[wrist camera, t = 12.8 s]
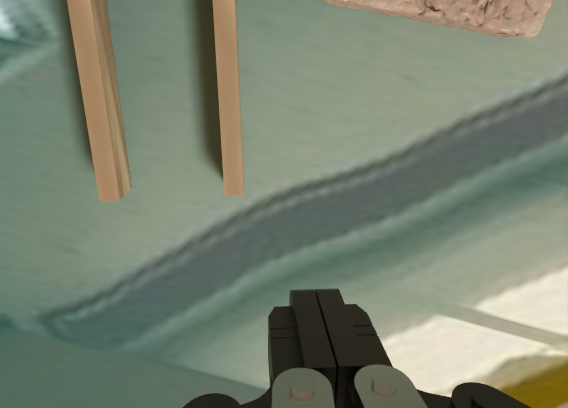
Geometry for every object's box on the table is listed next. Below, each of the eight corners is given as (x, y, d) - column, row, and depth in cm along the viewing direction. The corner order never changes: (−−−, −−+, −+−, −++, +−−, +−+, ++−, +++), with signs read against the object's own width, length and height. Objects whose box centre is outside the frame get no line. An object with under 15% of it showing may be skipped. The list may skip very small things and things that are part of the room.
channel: (225, -231, 27) (222, -273, 23) (243, 183, 36) (243, 195, 32) (49, -239, 26) (20, -284, 23) (113, 188, 35) (99, 200, 31)
